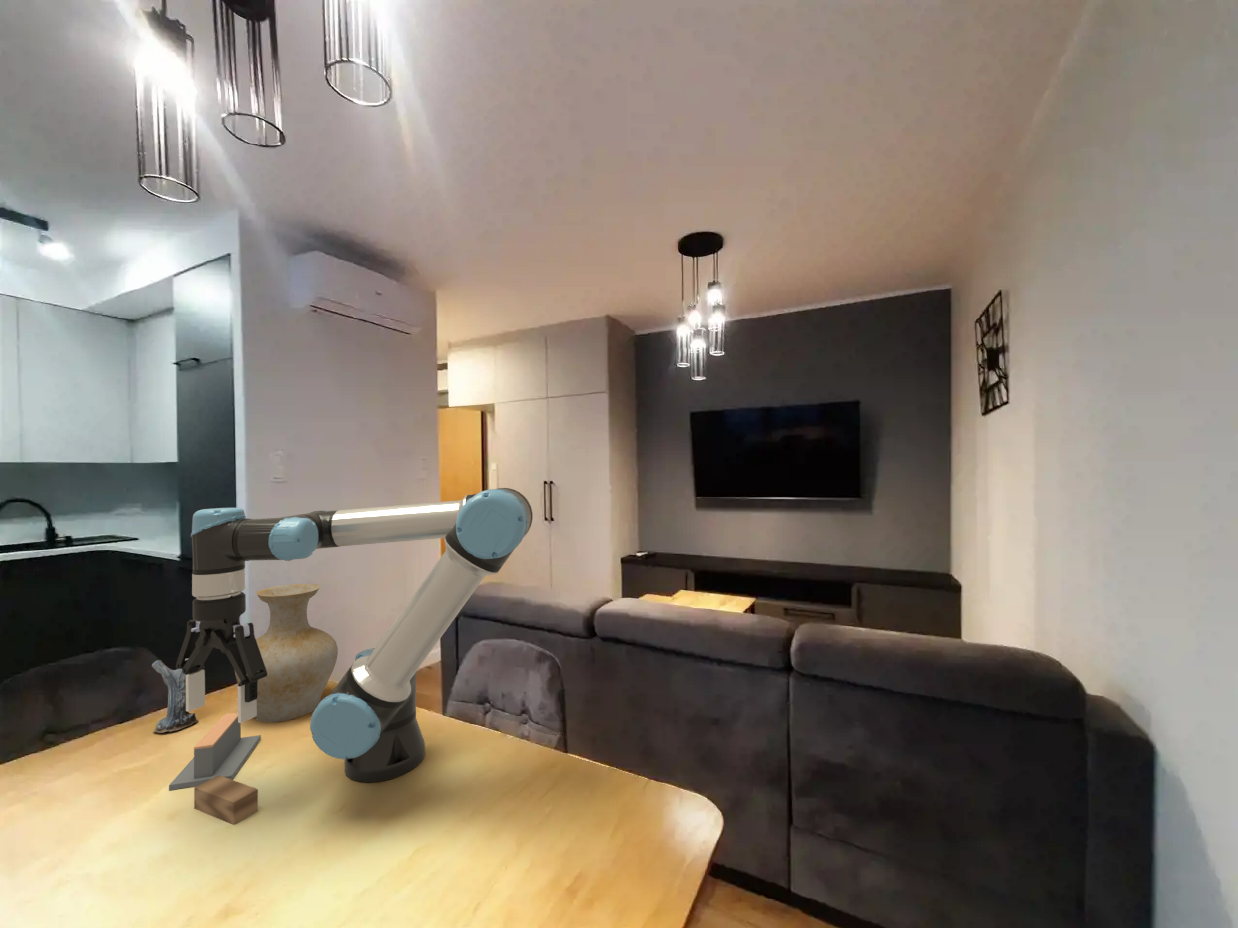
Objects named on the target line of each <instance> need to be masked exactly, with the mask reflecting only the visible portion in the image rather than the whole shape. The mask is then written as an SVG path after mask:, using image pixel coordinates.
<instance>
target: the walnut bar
mask: <svg viewBox="0 0 1238 928" xmlns="http://www.w3.org/2000/svg"><path fill="white" fill-rule="evenodd" d="M193 788H194V793H193V794H194V796H193V799H194V803H193V807H194V809H195V810H197V811H199V812H201V813H203V814H207V815H209V816H211V817H213V818H216V819H217V820H221V821H222V822H225V823H228V824H231V825H233V826H234V825H236V824H238V823H240V822H241V821H243V820H244V819H247V818H248V817H249V816H251V815H253V814H255V813H256V812H258V811H259V792H258V791H259V790H258V788H256V787H253V786H250V785H247V784H245V783H241V782H239V781H236V780H231V779H228V778H225V777H223V776H220V775H218V776H216V777H214V778H212V779H210V780H208V781H206V782H204V783H202V784H200V785H198V786H195V787H193Z"/></svg>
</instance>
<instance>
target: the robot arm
mask: <svg viewBox="0 0 1238 928" xmlns="http://www.w3.org/2000/svg"><path fill="white" fill-rule="evenodd" d="M245 513H246V512H245V510H244V509H243V508H241V507H219V508H218V507H216V508H203V509H200V510H197V511H195V512H194V513H193V515H192V524H191V533H190V538H191V552H192V574H191V578H192V579H191V585H192V586H191V595H192V597H194V599H193V600H192V619H189V620H188V621H187V623H186V633H185V636H184V638H183V639H184V640H183V642H182V645H181V648H180V652H179V653H178V657H177V660H176V663H175V668H176V670H177V669H182V672H183V673H184V674H185V684H186V685H185V688H186V711H187V712H189V713H190V712H192V711H194V710H196V709H199V708H201V707H204V706H206V676H205V675H206V671H205V670H206V669H204V668H205V667H206V666H205V664H204V663H205V662H206V661H207V659H208V657H209V655H210V654H211V652H212V651H213V650H214V649H217V650H220V652H221V653H222V654H225V655H226V656H227V659H228V661H229V662H230V664H231V665H232V668H233V670H234V672H235V671H236V673H237V675H238V677H239V679H240V681H241V682H240V683H239V684H238V683H237V713H238V723H241V724H243V723H245V722H247V721H249V720H252V719H254V718H255V717H256V716H257V696H258V693H257V682H258V680H259V679H261V678H264V677H266V676H267V671H266V668H265V665H264V662H263V659H262V656H261V653H260V650H259V647H258V644H257V642H256V636H255V628H254V627H255V625H254V624H253V622H247V623H244V624H241V622H240V617H241V615H244V614H245V612H246V610H247V609H246V607H247V606H246V603H247V602H246V593H244V592H243V591H245V589H246V573H245V572H246V571H245V570H246V569H245V568H246V562H249V561H285V562H288V561H289V562H290V561H293V560H302V559H307V558H309V557H311V556H312V555H313V552H315V551H316V550H319V549H320V550H321V549H330V548H331V549H332V548H340V547H349V546H360V545H361V546H363V545H375V544H385V543H386V544H387V543H388V544H389V543H400V542H411V541H412V542H413V541H422V540H423V541H424V540H435V539H436V540H438V539H443V540H444V546H445V551H444V552H443V554H442V555H441V556H440V558H439V559H438V561H437V562H436V563H435V564H434V566H433V567H432V569H431V570H430V572H429V573H428V575H426V577H425V579H424V580H423V581H422V582H421V584H420V585H419V587H418V588H417V590H416V591H415V592H414V593H413V595H412V597H411V598H409V601H407V603H406V605H405V606H404V607H403V609H402V610H401V611H400V612H399V614H398V616H397V617H396V618H395V620H393V622H392V624H391V625H390V627H389V628H388V629H387V630H386V632H385V633H384V634H383V636H382V637H381V639H380V640H379V642H378V643H377V644H376V645H375V647H373V648H368V649H365V650H362V651H359V652H358V653H356V655H355V657H354V662H353V663H352V665H351V666H350V667H349V668H348V670H347V671H346V672H345V674H344V675H343V676H342V677H341V679H340V681H339V682H338V683H337V685H336V686H335V687H334V688H333V690H332V691H331V692H330V693H329V695H326V696H325V697H324V698H322V700H320V703H319V704H318V706H317V707H316V709H314V710H313V711H312V714H311V717H310V723H309V729H310V732H311V735H312V736H311V737H312V741H313V742H314V743H315V745H316V747H318V749H319V750H320V752H321V751H322V752H323V753H324V754H326V755H327V756H329V757H331V758H335V759H340V760H344V773H345V775H346V776H347V777H348V778H350V779H351V780H353V781H356V782H360V783H375V782H376V783H377V782H383V781H387V780H391V779H394V778H397V777H400V776H402V775H405V774H407V773H408V772H410V771H411V770H414V768H416V767H417V766H419V764H420V763H421V762H422V761H423V759H424V758H425V754H426V753H425V752H426V751H425V750H426V749H425V746H426V745H425V740H424V739H425V738H424V737H423V734H422V731H421V728H420V725H419V723H418V719H417V671H418V670H419V668H420V667H421V666H422V664H423V663H424V661H425V660H426V659H427V657H428V656H429V655H430V653H431V652H432V650H433V649H434V648H435V647H436V646H437V644H438V642H439V641H440V639H441V638H442V637H443V635H444V634H445V632H446V631H447V630H448V628H449V627H450V625H451V624H452V623H453V621H454V620H455V618H457V616H458V615H459V613H460V612H461V610H462V609H463V607H464V606H465V605H466V603H467V602H468V601H469V599H470V598H471V596H472V595H473V594H474V592H475V591H476V590H477V588H478V587H479V585H480V584H481V583H482V581H483V579H485V577H487V576H491V575H496V574H498V573H499V572H500V570H501V569H502V567H504V565H505V563H506V562H507V561H508V559H509V558H510V556H511V555H512V554H513V552H514V551H515V549H516V548H518V546H520V543H522V541H523V539H524V538H525V537H526V536H527V534H528V533H529V531H530V529H531V527H532V523H533V518H534V517H533V516H534V515H533V514H534V513H533V509H532V506H531V503H530V502H529V501H528V498H527V497H526V496H524V494H522V493H521V492H520V491H518V490H515V489H513V488H509V487H499V488H489V489H487V490H486V489H485V490H482V491H480V492H478V493H474V494H466V495H465V496H464V497H463V498H462V499H461V500H460V499H459V500H447V501H446V500H445V501H436V502H425V503H409V504H400V505H389V506H371V507H362V508H349V509H339V510H315V511H310V512H307V513H303V514H295V515H294V514H293V515H288V516H283V517H275V518H273V517H270V518H246V517H247V516H246V514H245ZM187 658H189V659H188V660H185V659H187ZM258 671H259V672H258ZM246 674H247V675H246Z"/></svg>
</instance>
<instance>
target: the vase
mask: <svg viewBox="0 0 1238 928" xmlns="http://www.w3.org/2000/svg"><path fill="white" fill-rule="evenodd" d="M320 588H321V585H320V584H319V585H318V584H314V583H293V584H284V585H283V584H282V585H275V586H271V587H267V588H264V589H260V590H258V591H256V596H257V597H258V598H259V600H260V601H261V602H264V603H265V604H267V606H268V608H269V617H270V618H269V625H268V628H267V631H265V633H264V634H262V635H260V636H258V637H257V638H256V637H255V639H256V642H257V644H258V647H259V650H260V653H261V656H262V659H263V662H264V665H265V668H266V671H267V676H266V677H264V678H261V679H259V680H258V682H257V693H258V696H257V716H256V717H254V719H255V720H257V721H259V722H263V723H276V722H283V721H289V720H292V719H293V720H294V719H297V718H299V717H303V716H305V715H308V714H310V713H311V712H314V710H315V709H316V707H317V706H318V704H319V703H320V701H321V699H322V694H323V692H324V691H325V688H326V685H327V684H328V682H329V680H330V678H331V675H332V673H333V671H334V668H335V666H336V663H337V659H338V653H339V649H338V648H339V647H338V645H337V641H336V639H335V638H334V637H333V636H332V635H331V634H330V633H327V632H326V631H324V630H322V629H320V628H316V627H314V626H311V625H310V623H309V620H308V604H309V602H310V599H311V598H313V597H314V596H315V595H316V594H317V592H318V591H319V589H320ZM258 672H259V671H258ZM234 674H235V678H236V681H237V682H236V683H237V685H238V684H239V683H240V682H241V681H240V679H239V677H238V675H237V673H236V671H235V670H234ZM246 675H247V674H246Z"/></svg>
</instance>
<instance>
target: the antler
mask: <svg viewBox="0 0 1238 928" xmlns="http://www.w3.org/2000/svg"><path fill="white" fill-rule="evenodd" d="M188 659H189V658H187V659H185V660H188ZM151 667H152V668H153V670H155V671H156V673H158V674H160V675H161V677H162V681H163V682H164V684H165V685H166V686H167V692H168V693H167V698H168V699H167V711H166V716H165V717H163V718H161V719H160V720H158V721H157V722H156V727H155V728H154V729H153V732H155V733H159V734H161V733H166V732H175V731H178V730H182V729H184V728H186V727H189V726H191V725H193V724H195V723H198V722H199V720H198V719H197V718H196V712H193V713H192V712H191V713H190V711H189V712H187V711H186V688H185V685H186V684H185V674H184V673H183V672H182V669H177V668H176V669H172V668H169V667H168V665H165V663H164V662H163V661H162V660H161V659H157V660H155V661H154V662H152V664H151Z"/></svg>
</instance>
